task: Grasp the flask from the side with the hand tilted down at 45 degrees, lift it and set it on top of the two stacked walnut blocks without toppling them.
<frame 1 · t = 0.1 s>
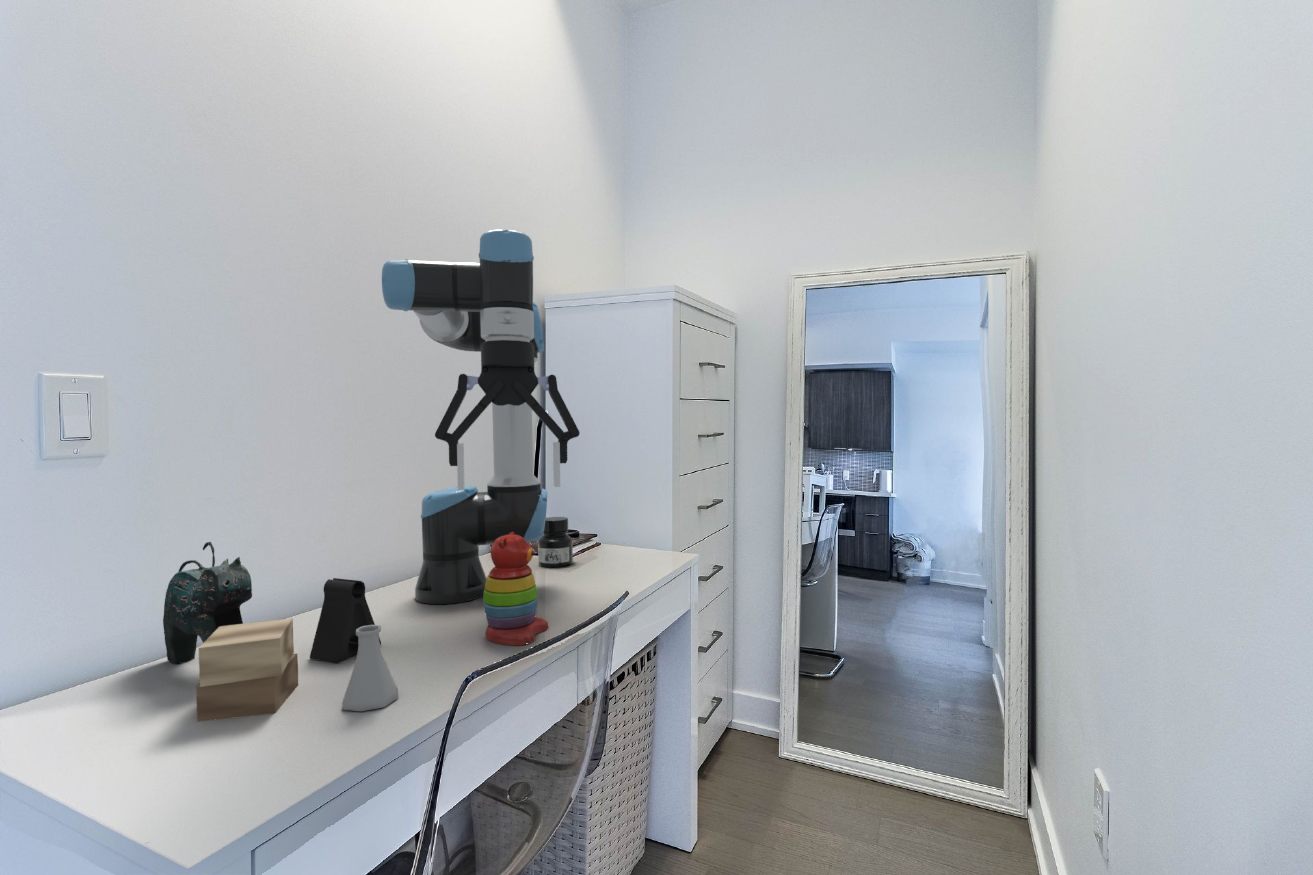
hand: (509, 487, 92), 28 cm above the table, tool pointing down, fingers open, 13 cm apart
ceramic cat: (203, 670, 98), on the table
block upper: (250, 668, 86), point 5 cm above the table, touching block lower
flask: (370, 702, 85), on the table
block lower: (251, 704, 86), on the table, touching block upper
stacking bear: (513, 635, 111), on the table
phone stand: (346, 653, 104), on the table
ink bottle: (555, 564, 165), on the table
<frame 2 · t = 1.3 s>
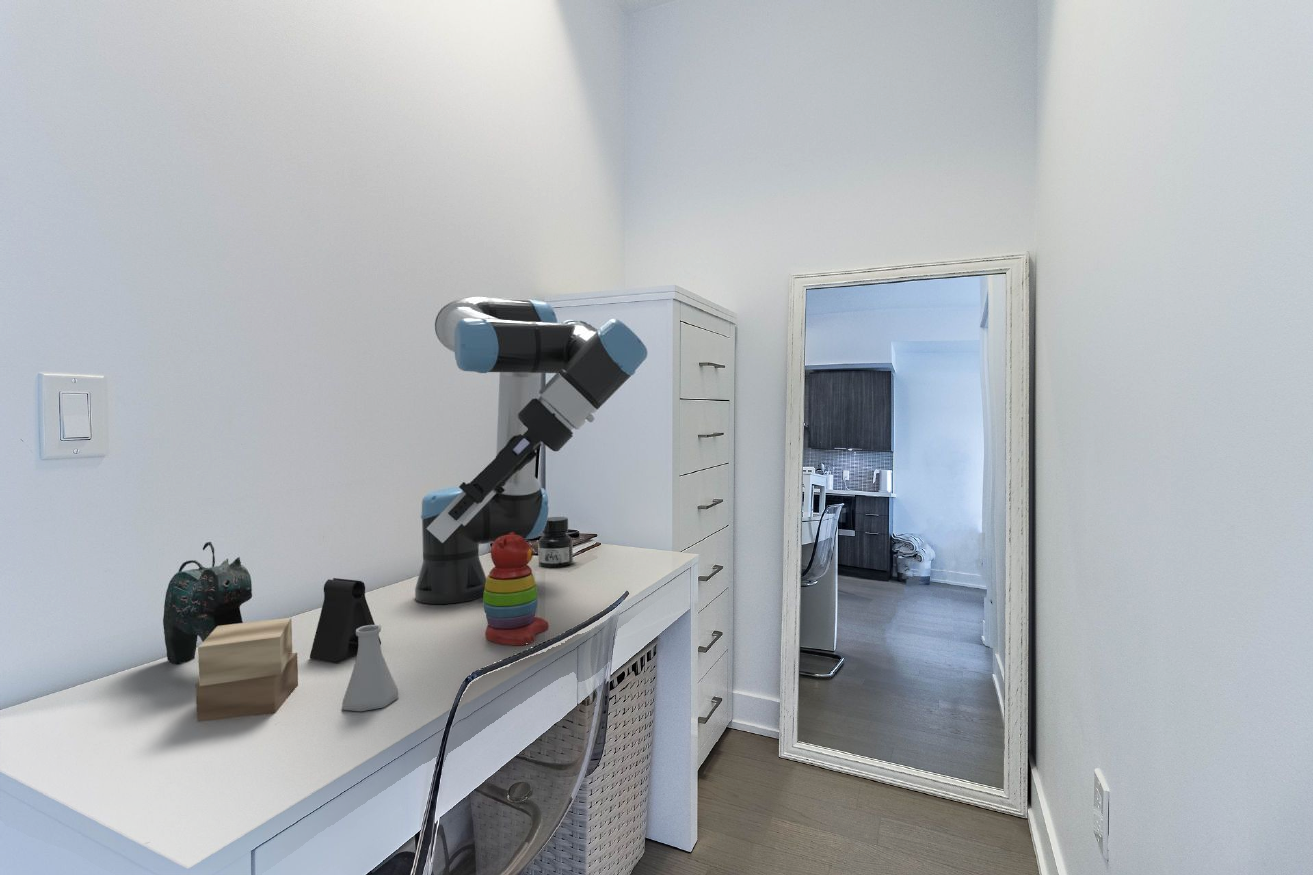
hand: (447, 526, 86), 23 cm above the table, tool tilted 45°, fingers open, 13 cm apart
block upper: (249, 667, 85), point 5 cm above the table
block lower: (250, 703, 86), on the table
everything else where it was.
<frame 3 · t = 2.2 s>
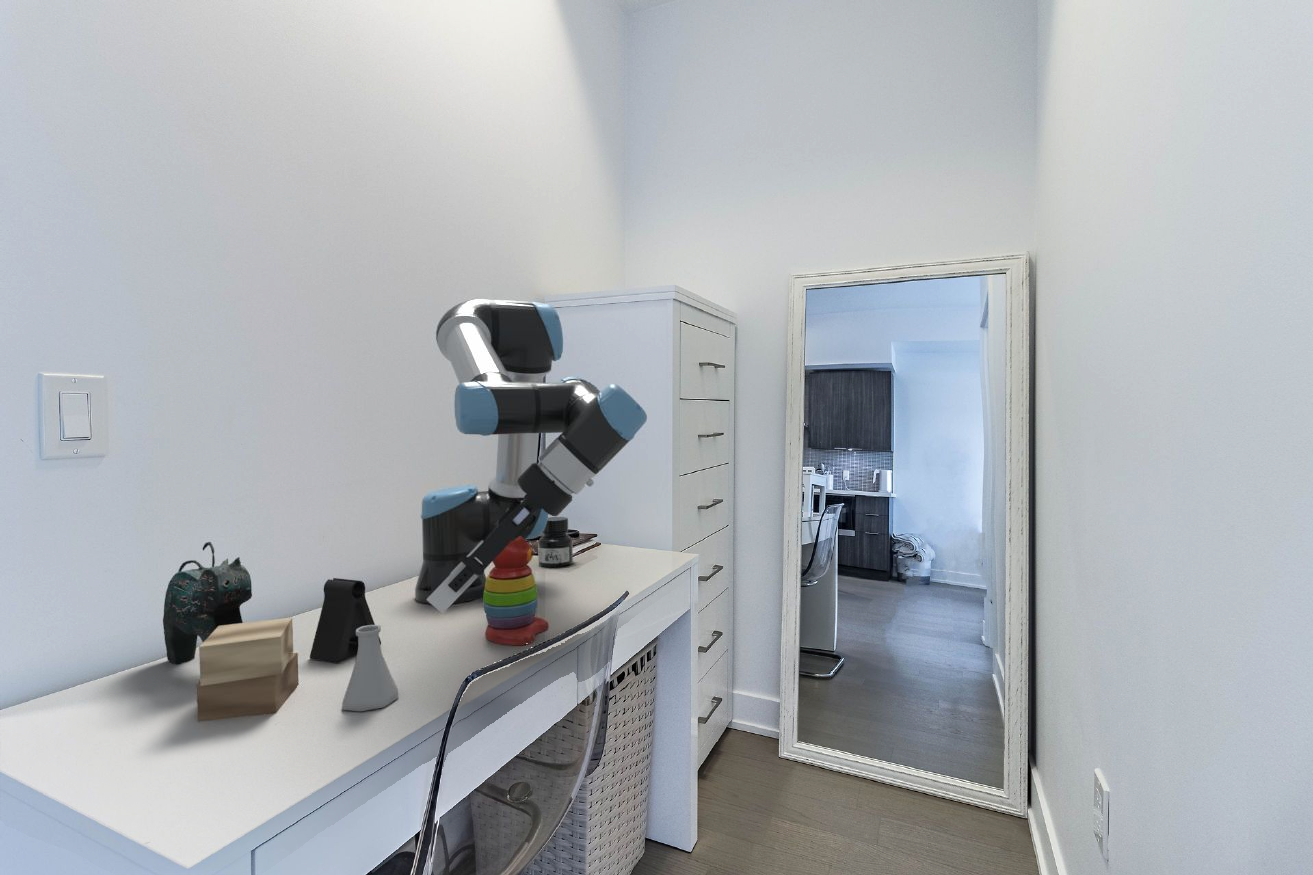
hand: (446, 591, 86), 14 cm above the table, tool tilted 45°, fingers open, 13 cm apart
block upper: (250, 667, 86), point 5 cm above the table, touching block lower
block lower: (251, 703, 86), on the table, touching block upper
everything else where it was.
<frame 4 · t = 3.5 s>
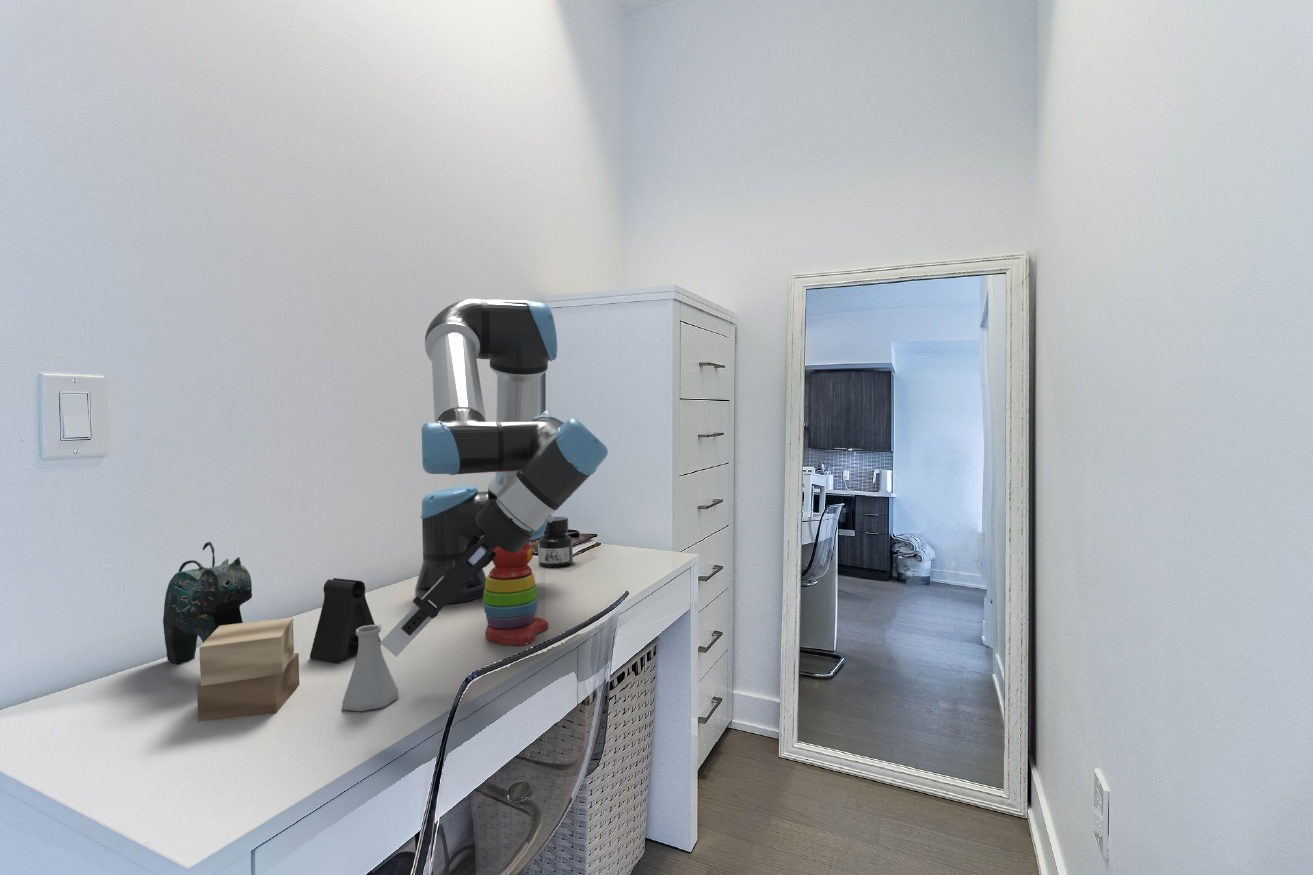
hand: (404, 631, 85), 10 cm above the table, tool tilted 45°, fingers open, 13 cm apart
nothing on the table moved.
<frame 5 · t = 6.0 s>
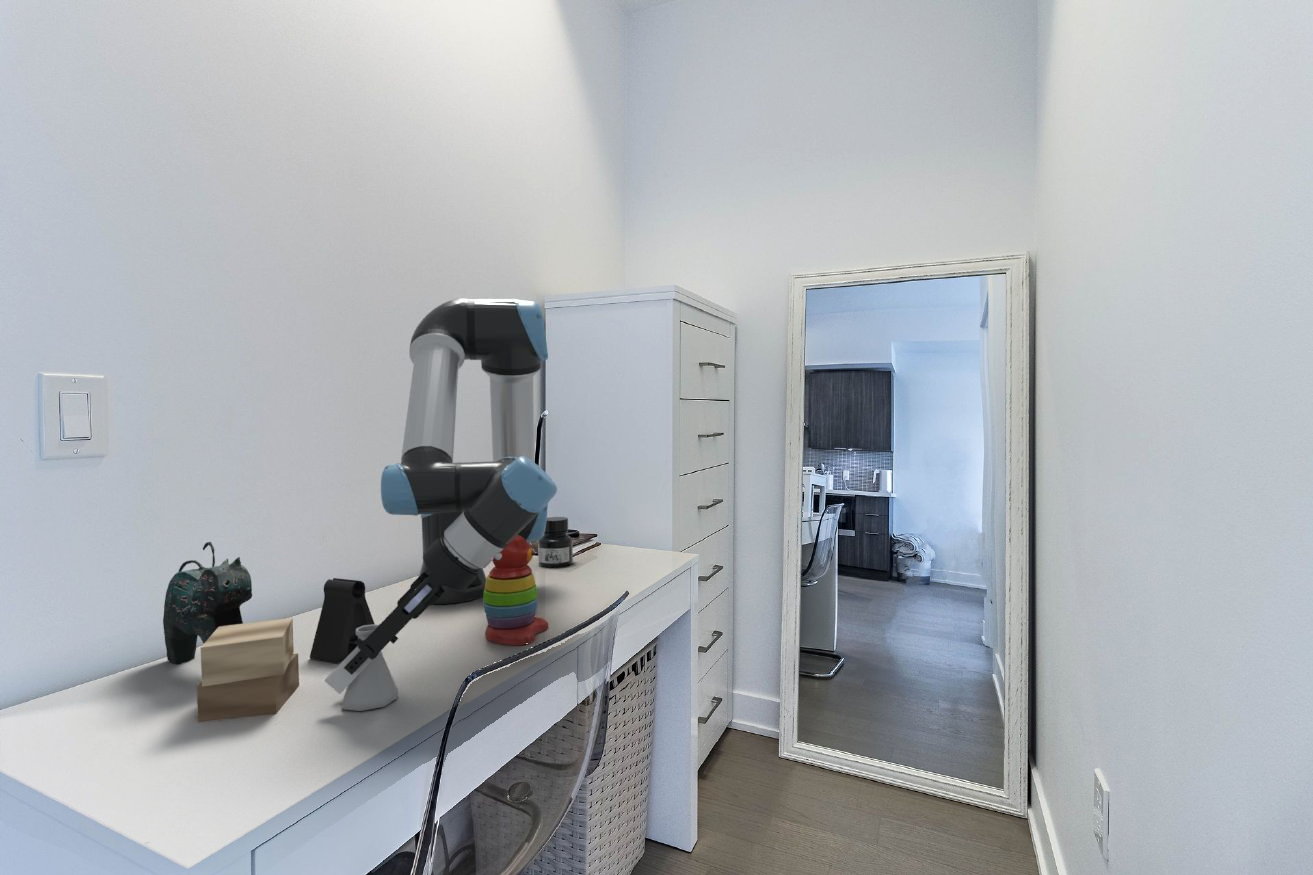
hand: (340, 678, 85), 3 cm above the table, tool tilted 45°, fingers closed on flask, 4 cm apart
flask: (370, 702, 85), on the table, touching gripper
everything else where it was.
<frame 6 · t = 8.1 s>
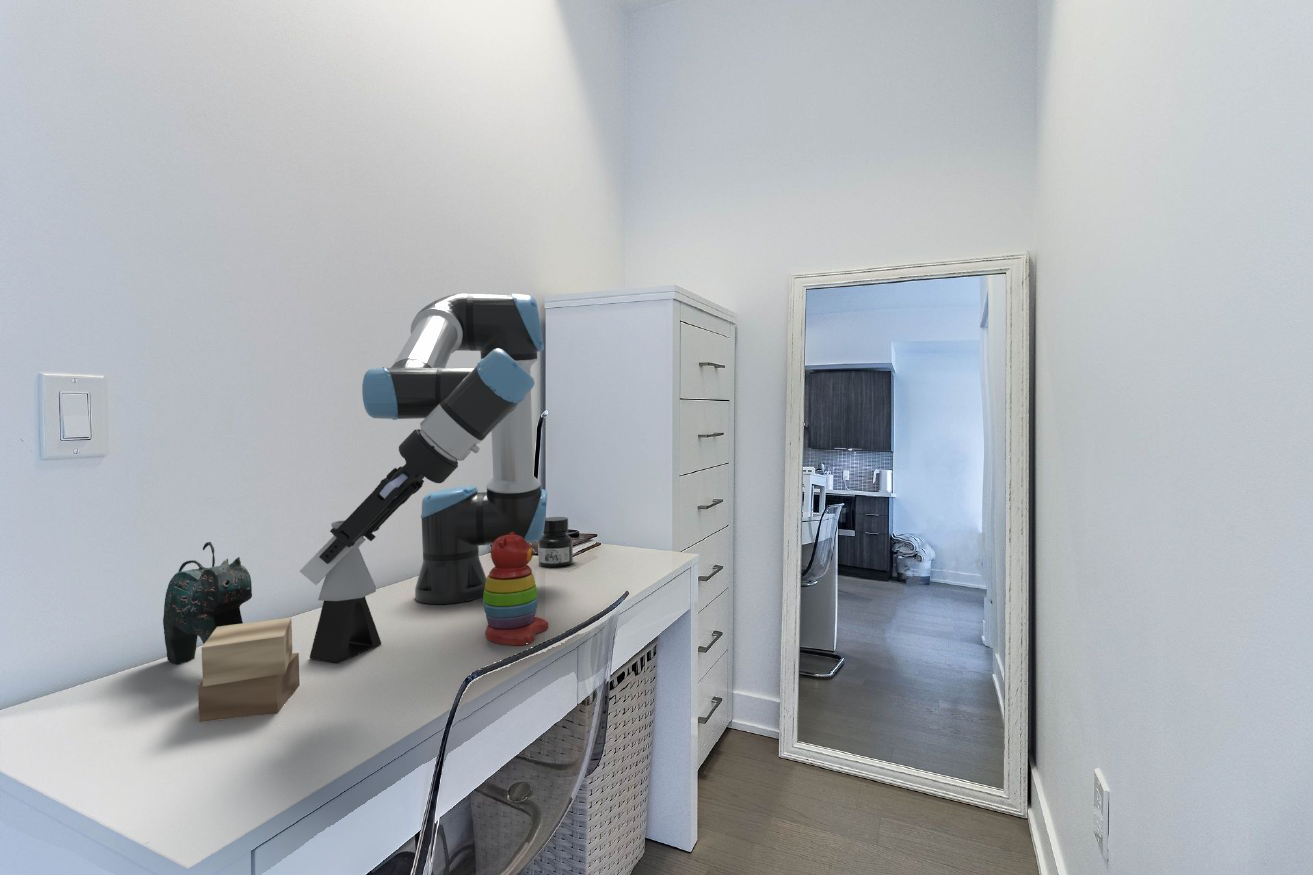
hand: (316, 572, 84), 18 cm above the table, tool tilted 45°, fingers closed on flask, 4 cm apart
flask: (348, 596, 84), point 14 cm above the table, touching gripper
everything else where it was.
when the fingers open (14 cm above the table, at t = 10.2 s): flask drops 1 cm, resting on block upper.
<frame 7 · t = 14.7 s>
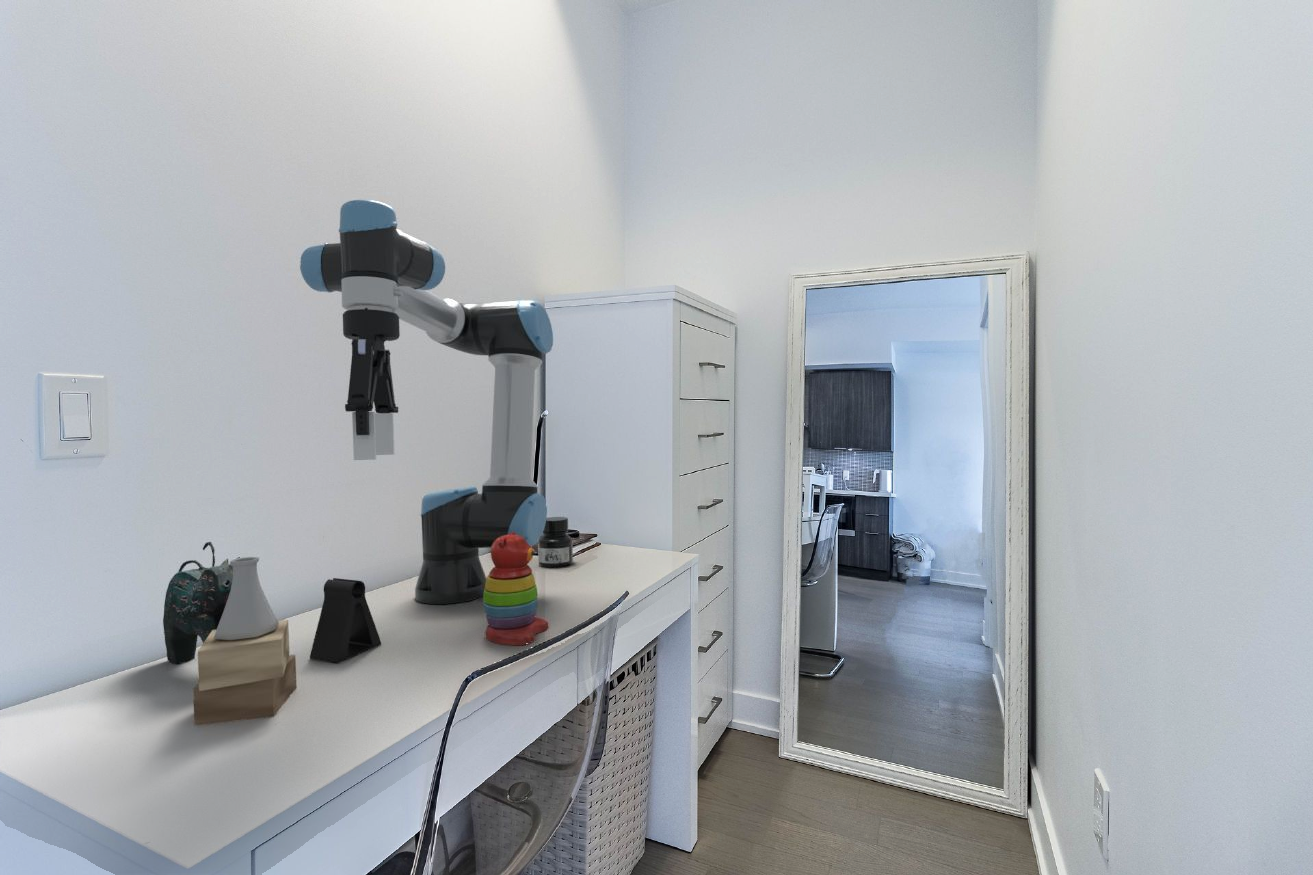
hand: (375, 457, 92), 33 cm above the table, tool pointing down, fingers open, 13 cm apart
block upper: (247, 671, 84), point 5 cm above the table, touching block lower, flask
flask: (247, 634, 85), point 10 cm above the table, touching block upper
everything else where it was.
at the end: flask inside the target area on the block upper (0.5 cm from its centre), point 4.8 cm above the block upper's base; flask tilted 0°; block upper moved 1.5 cm from its start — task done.
